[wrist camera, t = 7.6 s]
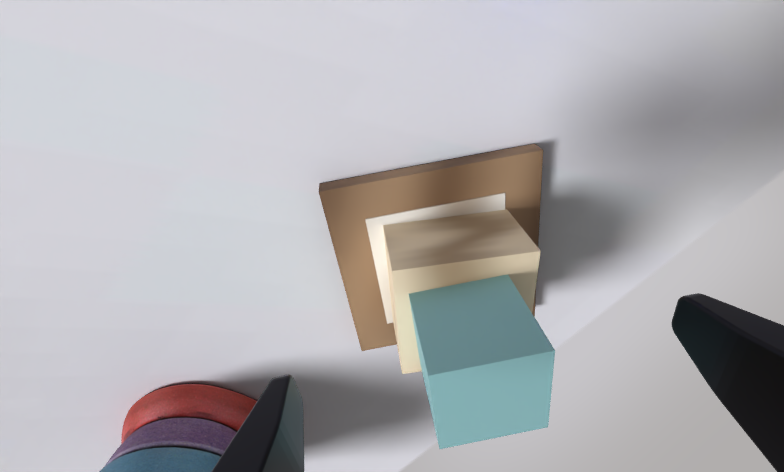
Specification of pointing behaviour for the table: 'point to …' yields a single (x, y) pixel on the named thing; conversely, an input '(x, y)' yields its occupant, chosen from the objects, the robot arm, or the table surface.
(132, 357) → the table surface
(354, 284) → the walnut board
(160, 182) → the table surface
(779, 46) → the table surface
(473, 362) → the teal block
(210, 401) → the stacking bear
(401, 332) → the beech block
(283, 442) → the robot arm
